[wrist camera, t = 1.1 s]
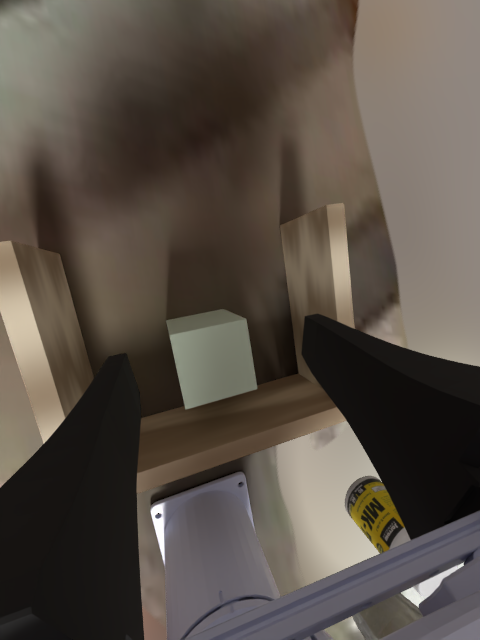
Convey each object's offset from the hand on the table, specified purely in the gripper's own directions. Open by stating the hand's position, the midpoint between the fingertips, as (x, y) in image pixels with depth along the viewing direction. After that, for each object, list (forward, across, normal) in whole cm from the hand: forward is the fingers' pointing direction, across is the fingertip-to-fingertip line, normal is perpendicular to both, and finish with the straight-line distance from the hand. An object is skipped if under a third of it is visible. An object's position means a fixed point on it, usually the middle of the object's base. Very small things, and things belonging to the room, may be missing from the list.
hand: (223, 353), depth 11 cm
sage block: (+9, 0, +6) cm, 11 cm away
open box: (+10, 0, +5) cm, 11 cm away
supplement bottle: (+3, -14, +25) cm, 28 cm away
